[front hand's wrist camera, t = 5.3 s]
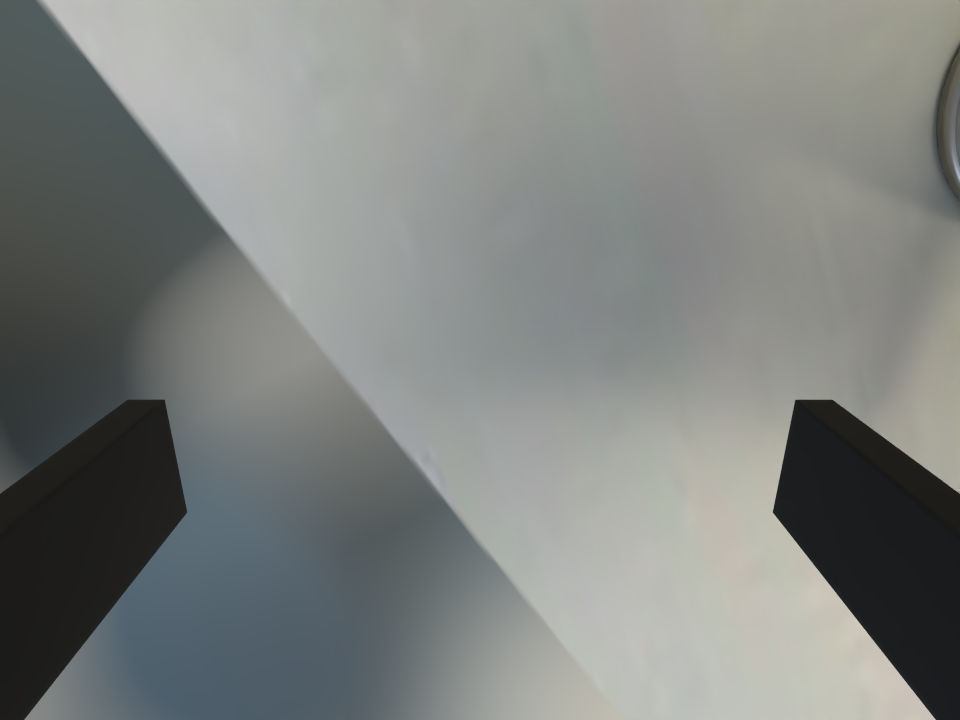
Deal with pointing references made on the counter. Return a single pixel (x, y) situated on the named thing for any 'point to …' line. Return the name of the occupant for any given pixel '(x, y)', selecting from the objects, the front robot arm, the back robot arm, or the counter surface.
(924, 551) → the front robot arm
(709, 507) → the counter surface
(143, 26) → the counter surface
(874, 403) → the counter surface
